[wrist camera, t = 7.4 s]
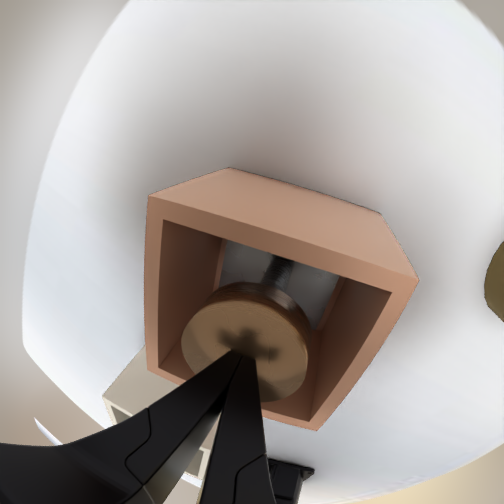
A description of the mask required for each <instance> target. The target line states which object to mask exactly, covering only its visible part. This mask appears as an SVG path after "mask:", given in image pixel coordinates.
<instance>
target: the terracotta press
mask: <svg viewBox="0 0 504 504" xmlns="http://www.w3.org/2000/svg"><path fill="white" fill-rule="evenodd" d="M227 240H231V241H234V242H237V243H240V244H243V245H247V246H250V247H253V248H256V249H259V250H262V251H265V252H269V253H272V254H275V255H278V256H281V257H284V258H287V259H290V260H294V261H297V262H300V263H303V264H306V265H309V266H312V267H315V268H319V269H322V270H325V271H328V272H331V273H334V274H337V275H340V276H339V278H338V281H337V283H336V286H335V288H334V290H333V293H332V295H331V297H330V300H329V302H328V304H327V307H326V309H325V311H324V313H323V315H322V318H321V320H320V322H319V324H318V326H317V328H316V331H315V330H312V329H311V331H312V339H311V346H310V352H309V358H308V364H307V370H306V375H305V379H304V381H303V383H302V384H301V386H300V387H299V388H298V389H297V390H296V391H295V392H294V393H293V394H291V395H289V396H288V397H286V398H283V399H280V400H277V401H273V402H262V403H261V410H262V417H265V418H268V419H272V420H275V421H279V422H282V423H286V424H290V425H293V426H297V427H301V428H305V429H310V430H314V431H317V430H318V429H319V428H320V427H321V426H322V425H323V424H324V422H325V421H326V420H327V419H328V418H329V417H330V415H331V414H332V413H333V412H334V411H335V409H336V408H337V407H338V406H339V404H340V403H341V402H342V401H343V399H344V398H345V397H346V396H347V394H348V393H349V392H350V390H351V389H352V388H353V386H354V385H355V384H356V382H357V381H358V380H359V378H360V377H361V376H362V374H363V373H364V371H365V370H366V369H367V367H368V366H369V364H370V363H371V361H372V360H373V358H374V357H375V355H376V354H377V352H378V351H379V349H380V348H381V346H382V345H383V343H384V342H385V340H386V338H387V337H388V335H389V334H390V332H391V330H392V329H393V327H394V325H395V324H396V322H397V320H398V319H399V317H400V315H401V313H402V312H403V310H404V308H405V306H406V304H407V303H408V301H409V299H410V297H411V295H412V293H413V291H414V289H415V288H416V286H417V284H418V282H419V278H418V276H417V275H416V273H415V271H414V269H413V267H412V265H411V264H410V262H409V260H408V258H407V256H406V255H405V253H404V251H403V250H402V248H401V246H400V244H399V243H398V241H397V239H396V238H395V236H394V234H393V233H392V231H391V230H390V228H389V226H388V225H387V223H386V222H385V220H384V218H383V217H382V215H381V214H380V213H378V212H375V211H372V210H370V209H367V208H364V207H361V206H358V205H355V204H352V203H350V202H347V201H344V200H341V199H338V198H334V197H331V196H328V195H325V194H322V193H319V192H316V191H312V190H309V189H306V188H303V187H299V186H296V185H292V184H289V183H285V182H282V181H278V180H275V179H271V178H268V177H264V176H260V175H256V174H253V173H249V172H245V171H241V170H237V169H233V168H229V167H228V168H225V169H222V170H219V171H215V172H212V173H209V174H206V175H203V176H200V177H197V178H194V179H191V180H188V181H185V182H183V183H180V184H177V185H174V186H171V187H169V188H166V189H163V190H161V191H158V192H155V193H153V194H150V195H148V205H147V218H146V234H145V256H144V323H145V345H146V361H147V370H148V371H150V372H152V373H154V374H156V375H158V376H160V377H162V378H164V379H166V380H169V381H171V382H173V383H175V384H177V385H181V384H183V383H184V382H186V381H187V380H188V379H190V378H191V377H193V376H194V375H196V374H195V373H194V372H193V371H192V370H191V368H190V367H189V365H188V364H187V362H186V360H185V358H184V355H183V352H182V347H181V339H182V334H183V331H184V329H185V327H186V326H187V324H188V323H189V321H190V320H191V319H192V318H193V316H194V315H195V314H196V312H197V311H198V310H199V308H200V307H201V306H202V304H203V303H204V302H205V300H206V299H207V298H208V297H209V296H210V294H211V293H213V292H214V291H215V290H216V289H218V287H219V282H220V276H221V271H222V266H223V260H224V255H225V250H226V245H227Z"/></svg>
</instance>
